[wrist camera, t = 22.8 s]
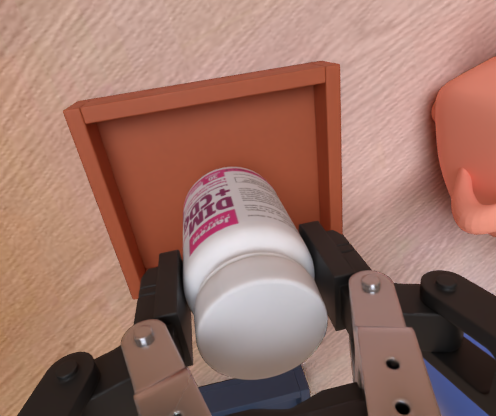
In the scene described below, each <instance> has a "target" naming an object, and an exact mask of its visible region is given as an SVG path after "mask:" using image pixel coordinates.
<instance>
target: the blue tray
mask: <svg viewBox="0 0 496 416" xmlns="http://www.w3.org/2000/svg"><path fill="white" fill-rule="evenodd" d="M199 391H200V393H201V395H202V397H203V399H204V401H205V403H206V405H207V407H208V409H209V411H210V413H211V415H212V416H225V415H229V414H233V413H237V412H241V411H244V410H248V409H257V408H259V409H290V408H292V407H294V406H296V405H298V404H299V403H301V402H303V401H305V400H307V399H308V398H310V390H309V386H308V383H307V381H306V378H305V375H304V372H303V370H302V367H301V364H300V365H298V366H297V367H295V368H293V369H291V370H290V371H287V372H285V373H282V374H280V375H277V376H273V377H270V378H264V379H257V380H244V379H236V378H235V379H231V380H227V381H223V382H219V383H215V384H211V385H207V386H203V387H199Z"/></svg>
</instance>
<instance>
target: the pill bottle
mask: <svg viewBox="0 0 496 416" xmlns="http://www.w3.org/2000/svg"><path fill="white" fill-rule="evenodd" d="M314 277H315V272H314V264H313V260H312V257H311V254H310V252H309V250H308V248H307V246H306V244H305V242H304V241H303V239H302V237H301V236H300V234H299V232H298V230H297V229H296V227H295V225H294V224H293V222H292V220H291V218H290V217H289V215H288V213H287V211H286V210H285V208H284V206H283V205H282V203H281V201H280V199H279V197H278V196H277V194H276V192H275V190H274V189H273V187H272V186H271V185H270V184H269V183H268V182H267V181H266V180H265V179H264V178H263V177H262V176H260V175H259V174H257V173H256V172H254V171H252V170H249V169H246V168H242V167H224V168H220V169H216V170H213V171H211V172H209V173H207V174H206V175H204V176H203V177H201V178H200V179H199V180H198V181H197V182H196V183H195V184H194V185H193V186H192V188H191V189H190V191H189V192H188V194H187V196H186V199H185V202H184V208H183V288H184V294H185V298H186V301H187V304H188V306H189V308H190V310H191V311H192V313H193V314H194V324H195V333H196V343H197V347H198V350H199V352H200V354H201V356H202V358H203V359H204V361H205V362H206V363H207V364H208V365H209V366H210V367H211V368H212V369H214V370H215V371H217V372H219V373H221V374H223V375H226V376H228V377H232V378H236V379H244V380H257V379H264V378H270V377H273V376H277V375H280V374H282V373H285V372H287V371H290V370H291V369H293V368H295V367H297V366H298V365H300V364H302V363H303V362H304V361H305V360H307V359H308V358H309V357H310V356H311V355H312V354H313V353H314V352H315V350H316V349H317V348H318V347H319V345H320V344H321V342H322V340H323V338H324V336H325V333H326V329H327V325H328V315H327V310H326V306H325V304H324V302H323V300H322V297H321V295H320V293H319V290H318V287H317V285H316V283H315V281H314Z"/></svg>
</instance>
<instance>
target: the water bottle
mask: <svg viewBox="0 0 496 416" xmlns="http://www.w3.org/2000/svg"><path fill="white" fill-rule="evenodd" d="M463 336H464V337H465V338H467V339H468V340H469V341H471V342H472V343H474V344H475V345H476V346H478V347H479V348H480V349H482V350H483V351H484V352H486V353H487V354H489V355H490V356H491V357H493V358H494V356H493V355H492V354H491V352H490V351H489V350H488V349H486V348H485V347H484V346H482V345H481V344H480V343H478V342H477V341H475V340H474V339H473V338H471V337H470V336H469V335H467V334H466V333H464V335H463ZM423 359H424V358H423ZM494 359H495V358H494ZM424 362H425V366H426V369H427V372H428V375H429V378H430V381H431V384H432V388H433V391H434V394H435V397H436V400H437V403H438V406H439V410H440V413H441V415H442V416H489V415H488V414H486V413H485V412H484V411H483V410H482V409H481V408H480V407H478V406H477V405H476V404H475V403H474V402H473V401H472V400H471V399H469V398H468V397H467V396H466V395H465V394H464V393H463V392H461V391H460V390H459V389H458V388H457V387H456V386H455V385H453V384H452V383H451V382H450V381H449V380H448V379H447V378H445V377H444V376H443V375H442V374H441V373H440V372H439V371H438V370H436V369H435V368H434V367H433V366H432V365H431V364H430V363H428V362H427V361H426V360H425V359H424Z"/></svg>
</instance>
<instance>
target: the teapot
mask: <svg viewBox="0 0 496 416" xmlns="http://www.w3.org/2000/svg"><path fill="white" fill-rule="evenodd" d="M431 115H432V118H433V120H434V121H435V123H436V139H437V151H438V157H439V163H440V167H441V171H442V174H443V178H444V182H445V184H446V186H447V189H448V192H449V195H450V197H451V199H452V200H451V210H452V214H453V217H454V220H455V222H456V224H457V225H458V226H459V227H460V228H461V229H462V230H463V231H465V232H467V233H470V234H475V235H477V234H487V233H488V234H490V235H492V236H494V237H496V56H495V57H493V58H491V59H489V60H487V61H485V62H483V63H481V64H479V65H478V66H476V67H474V68H472V69H470V70H468V71H467V72H465V73H463V74H461V75H459V76H458V77H456V78H454V79H453V80H451V81H449V82H448V83H447V84H445V85H444V86H443V87H442V88H441V89H440V91H439V92H438V95H437V98H436V100H435V102H434V104H433V106H432V111H431Z"/></svg>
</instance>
